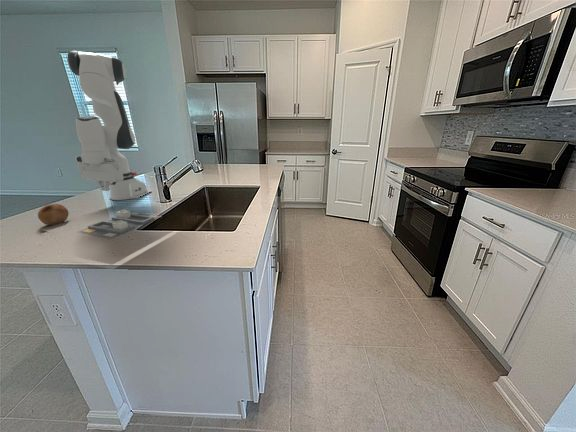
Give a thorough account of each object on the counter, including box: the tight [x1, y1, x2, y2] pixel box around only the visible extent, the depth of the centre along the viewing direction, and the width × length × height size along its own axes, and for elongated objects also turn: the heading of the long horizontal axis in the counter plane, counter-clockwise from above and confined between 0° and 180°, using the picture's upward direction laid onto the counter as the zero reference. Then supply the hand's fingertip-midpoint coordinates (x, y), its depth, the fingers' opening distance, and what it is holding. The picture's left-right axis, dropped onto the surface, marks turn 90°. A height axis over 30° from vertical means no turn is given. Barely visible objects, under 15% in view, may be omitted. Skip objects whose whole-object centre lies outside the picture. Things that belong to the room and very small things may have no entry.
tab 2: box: [112, 220, 128, 230], centre depth 95 cm, size 3×4×4 cm
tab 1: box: [116, 208, 131, 219], centre depth 107 cm, size 3×4×4 cm
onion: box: [37, 203, 69, 226], centre depth 102 cm, size 10×9×10 cm
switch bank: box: [77, 211, 163, 239], centre depth 102 cm, size 24×18×2 cm
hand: (105, 190), depth 105 cm, fingers closed
